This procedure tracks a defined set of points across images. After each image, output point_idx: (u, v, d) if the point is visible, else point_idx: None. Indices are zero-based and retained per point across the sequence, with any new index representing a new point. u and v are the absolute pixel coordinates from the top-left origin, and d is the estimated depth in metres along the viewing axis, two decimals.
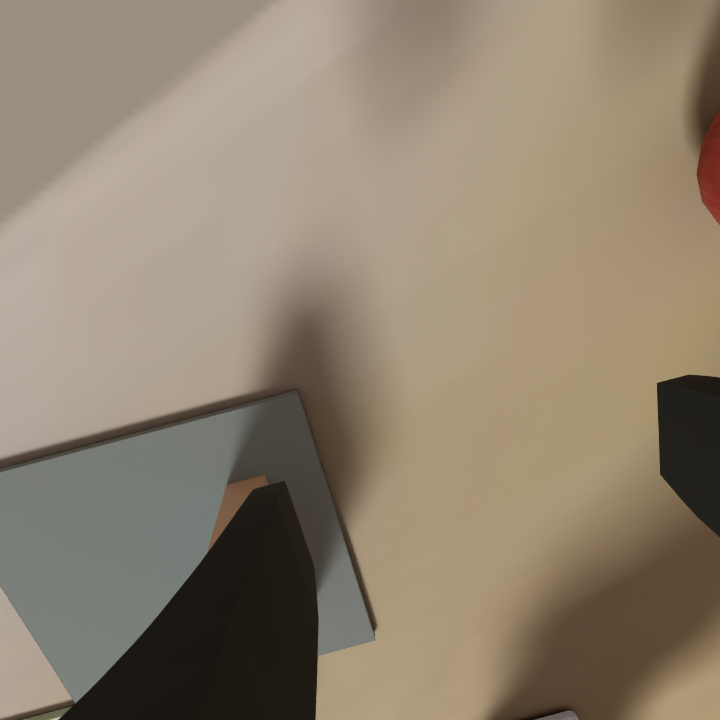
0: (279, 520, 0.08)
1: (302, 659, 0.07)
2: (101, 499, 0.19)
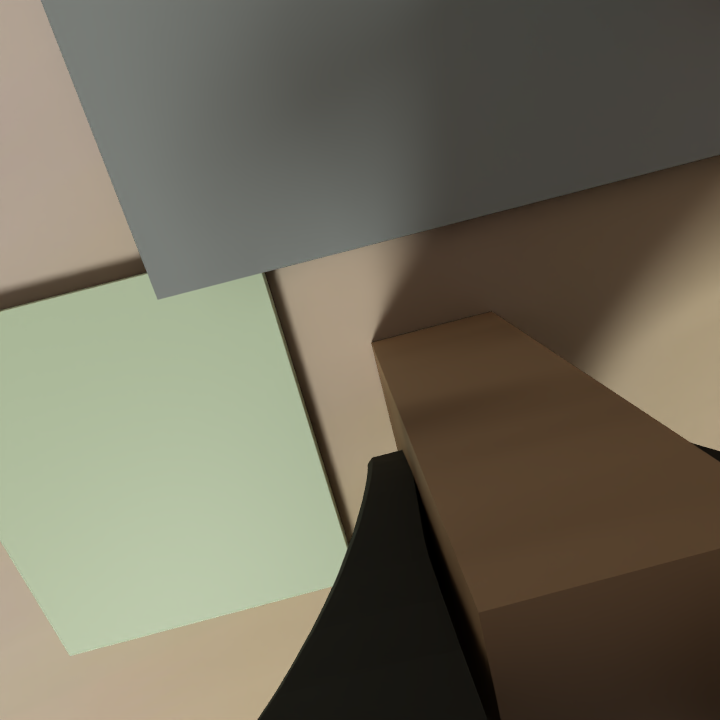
0: None
1: None
2: None
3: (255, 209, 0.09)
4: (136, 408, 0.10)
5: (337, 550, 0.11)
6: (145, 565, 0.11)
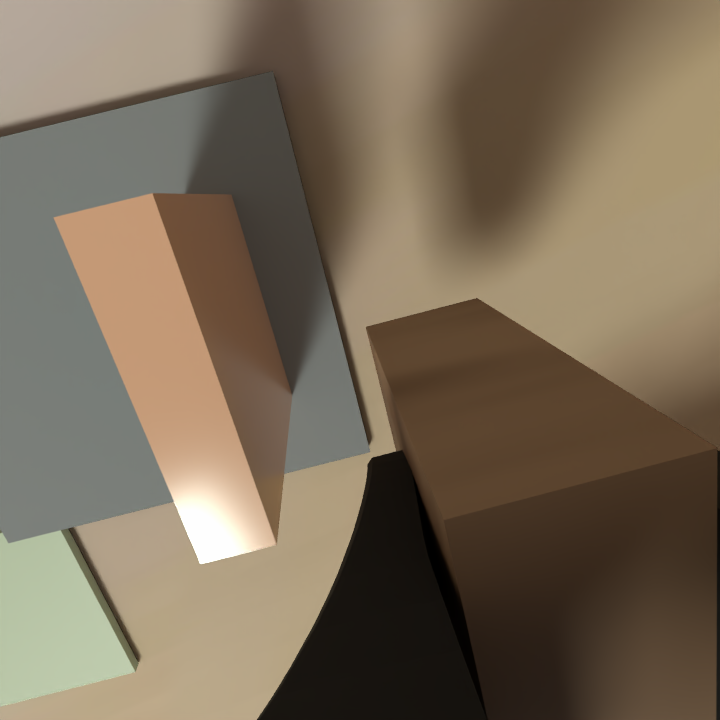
0: None
1: None
2: (19, 217, 0.15)
3: (53, 504, 0.18)
4: (1, 591, 0.19)
5: (121, 656, 0.21)
6: (13, 666, 0.20)
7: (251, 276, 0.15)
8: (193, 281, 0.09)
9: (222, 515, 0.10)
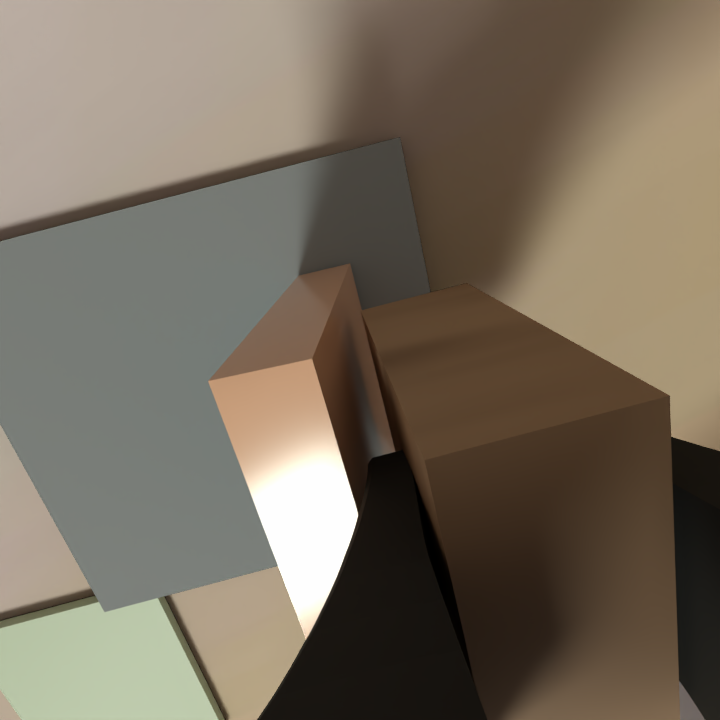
0: None
1: None
2: (132, 291, 0.14)
3: (152, 573, 0.18)
4: (95, 658, 0.19)
5: (212, 719, 0.20)
6: None
7: (368, 350, 0.14)
8: (342, 431, 0.08)
9: None
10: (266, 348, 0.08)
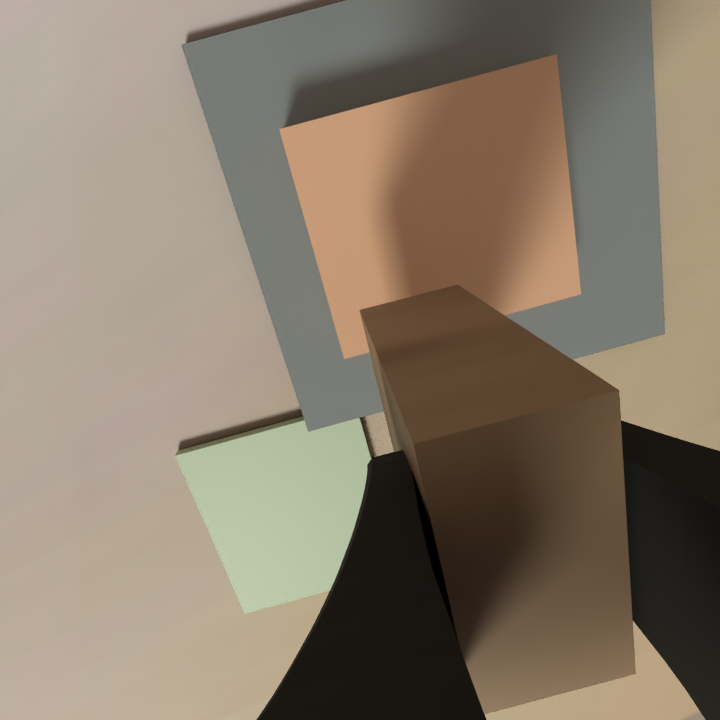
0: (414, 484, 0.08)
1: None
2: (379, 79, 0.15)
3: (357, 390, 0.18)
4: (293, 483, 0.19)
5: None
6: (290, 563, 0.20)
7: (536, 156, 0.15)
8: (314, 180, 0.14)
9: None
10: None
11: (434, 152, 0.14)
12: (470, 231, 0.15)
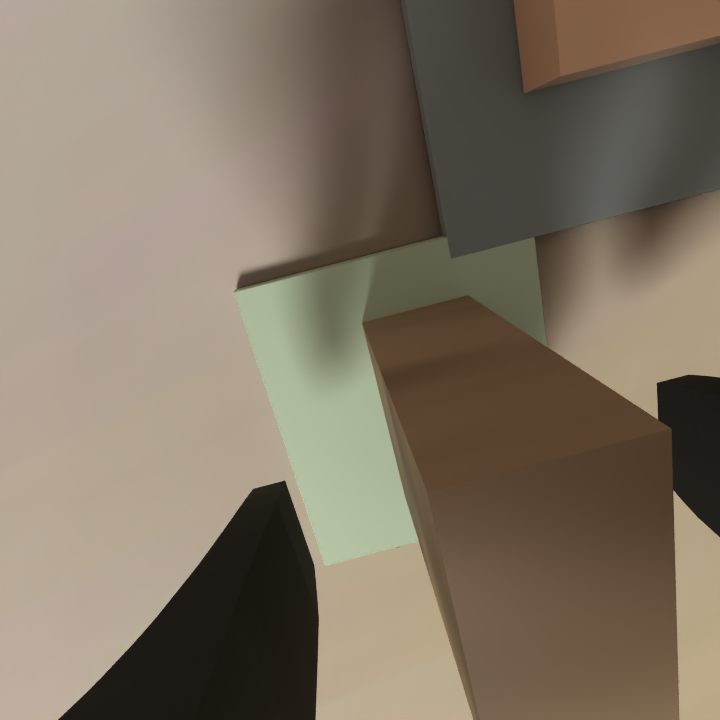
0: (280, 519, 0.08)
1: (302, 659, 0.07)
2: None
3: (538, 185, 0.11)
4: None
5: None
6: (399, 486, 0.13)
7: None
8: None
9: (534, 27, 0.09)
10: None
11: None
12: None
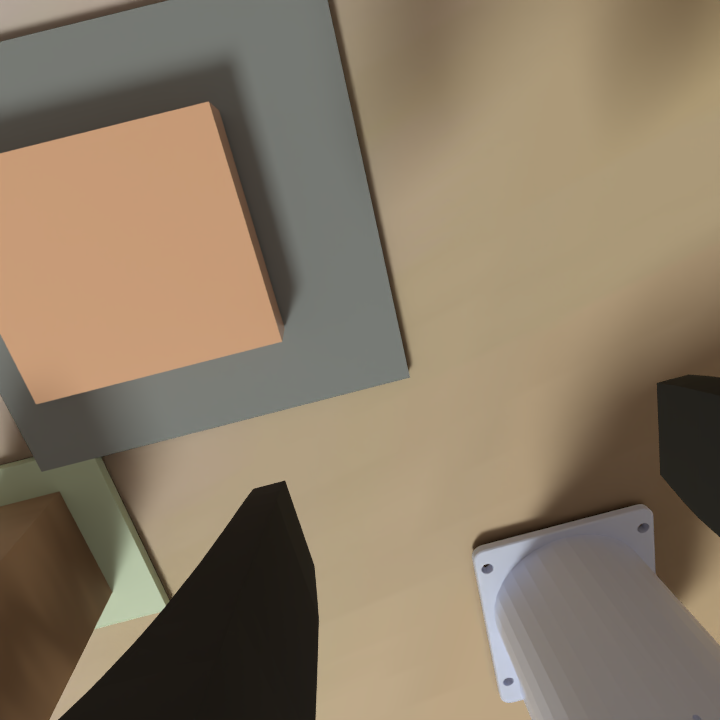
0: (280, 519, 0.08)
1: (301, 659, 0.07)
2: (57, 120, 0.15)
3: (88, 430, 0.18)
4: None
5: (154, 594, 0.20)
6: None
7: (206, 203, 0.14)
8: None
9: None
10: None
11: (94, 198, 0.14)
12: (149, 278, 0.15)
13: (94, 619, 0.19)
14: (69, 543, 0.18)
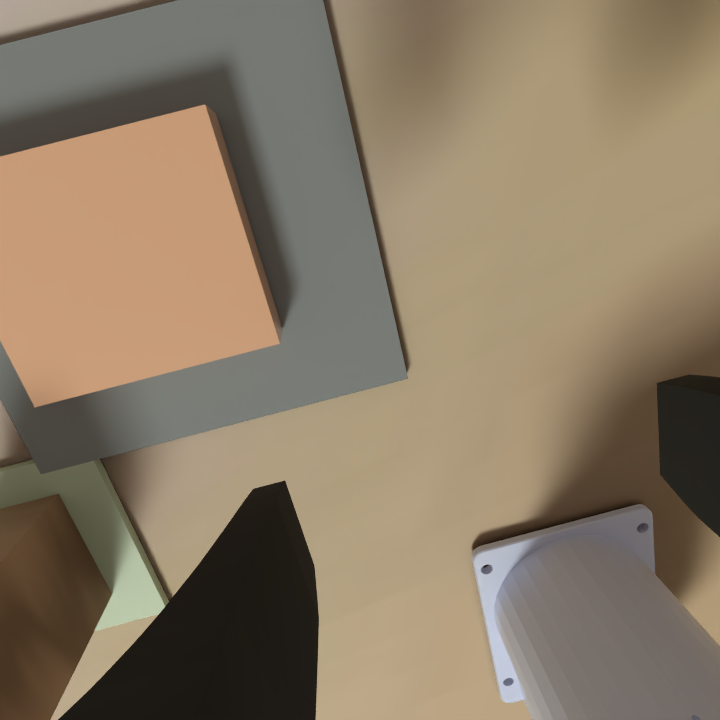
0: (280, 519, 0.08)
1: (302, 659, 0.07)
2: (54, 123, 0.15)
3: (87, 433, 0.18)
4: None
5: (154, 595, 0.20)
6: None
7: (203, 206, 0.14)
8: None
9: None
10: None
11: (91, 201, 0.14)
12: (146, 280, 0.15)
13: (94, 621, 0.19)
14: (68, 545, 0.18)
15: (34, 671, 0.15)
